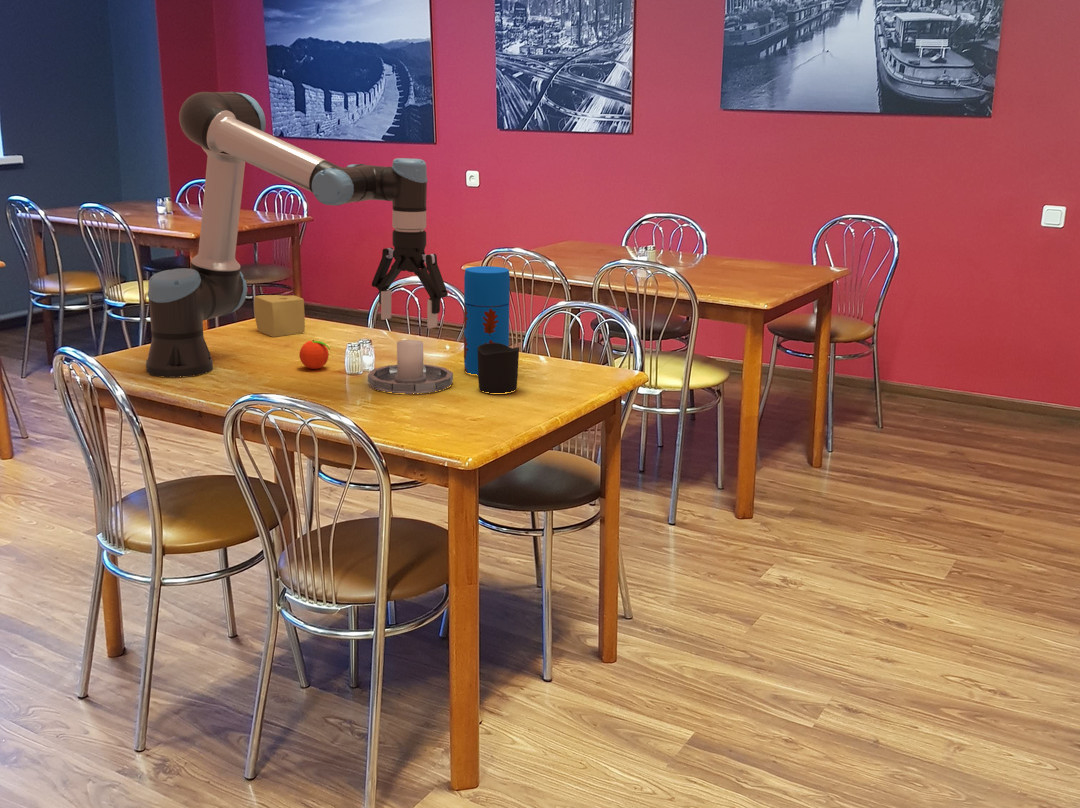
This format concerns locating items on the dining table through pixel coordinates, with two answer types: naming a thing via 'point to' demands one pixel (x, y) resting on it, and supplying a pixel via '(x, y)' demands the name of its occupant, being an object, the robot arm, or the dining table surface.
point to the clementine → (314, 354)
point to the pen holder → (497, 368)
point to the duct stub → (410, 362)
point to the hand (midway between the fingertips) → (408, 323)
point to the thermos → (485, 310)
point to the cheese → (279, 314)
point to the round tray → (386, 382)
